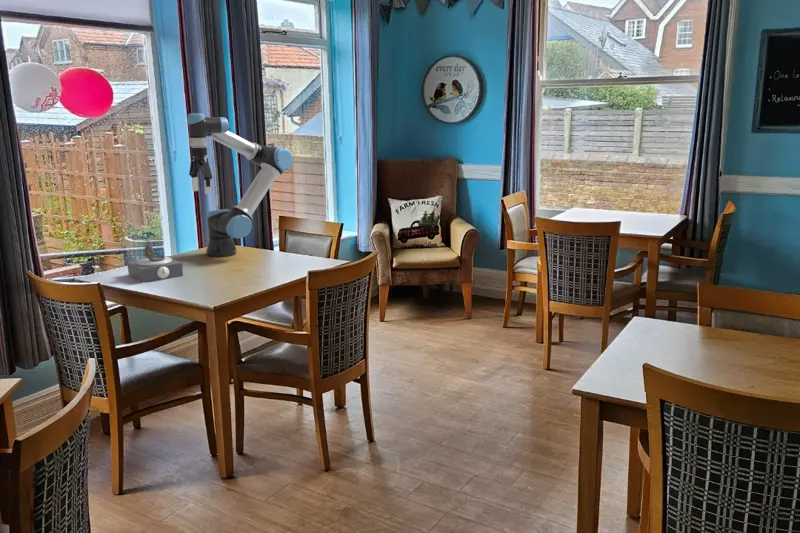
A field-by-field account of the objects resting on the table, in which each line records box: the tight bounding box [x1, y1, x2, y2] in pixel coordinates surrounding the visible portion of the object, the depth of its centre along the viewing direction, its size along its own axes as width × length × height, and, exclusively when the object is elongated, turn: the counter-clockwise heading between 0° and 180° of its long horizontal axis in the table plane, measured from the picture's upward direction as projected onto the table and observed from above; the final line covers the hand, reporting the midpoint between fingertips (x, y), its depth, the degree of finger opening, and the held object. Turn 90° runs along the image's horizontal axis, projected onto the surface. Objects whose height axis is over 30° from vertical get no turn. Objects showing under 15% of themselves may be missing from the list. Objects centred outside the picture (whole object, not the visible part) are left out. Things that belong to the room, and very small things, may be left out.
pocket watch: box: [144, 239, 165, 261], centre depth 304 cm, size 8×8×10 cm
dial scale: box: [127, 255, 184, 283], centre depth 305 cm, size 19×18×7 cm
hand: (201, 192), depth 321 cm, fingers open, 13 cm apart
